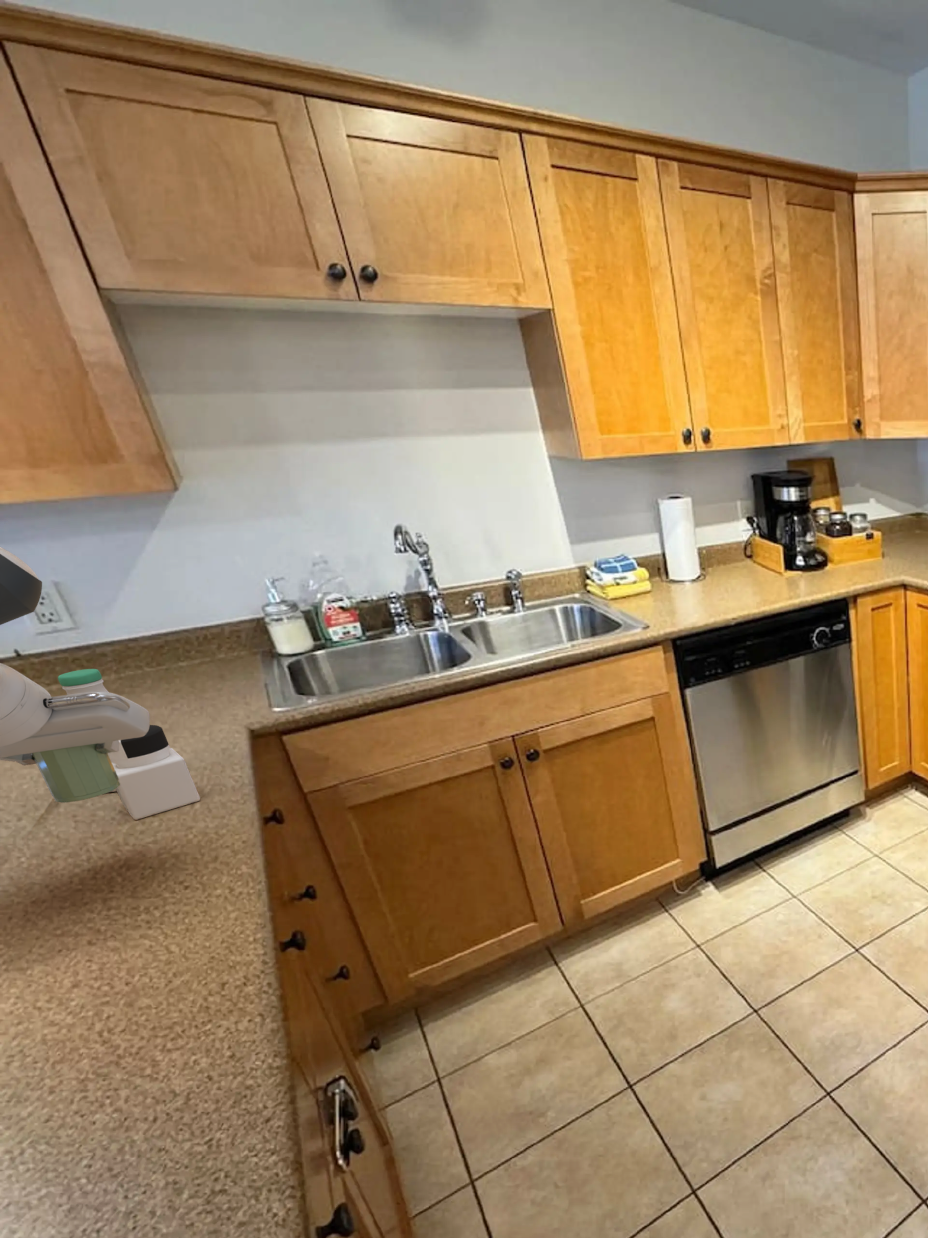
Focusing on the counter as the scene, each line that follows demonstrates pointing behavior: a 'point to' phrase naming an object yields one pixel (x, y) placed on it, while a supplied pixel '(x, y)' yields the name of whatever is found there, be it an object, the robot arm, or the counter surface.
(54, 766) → the cup
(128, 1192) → the counter surface
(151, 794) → the container
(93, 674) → the milk bottle
